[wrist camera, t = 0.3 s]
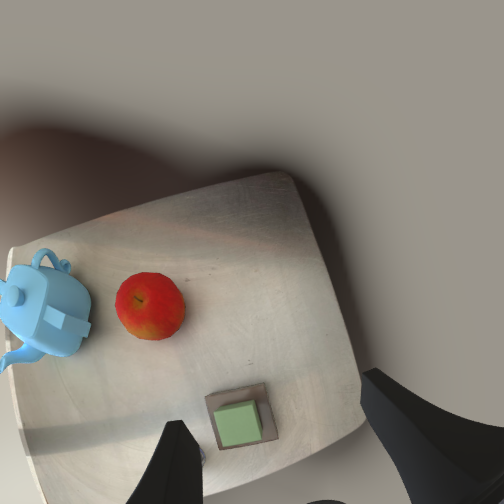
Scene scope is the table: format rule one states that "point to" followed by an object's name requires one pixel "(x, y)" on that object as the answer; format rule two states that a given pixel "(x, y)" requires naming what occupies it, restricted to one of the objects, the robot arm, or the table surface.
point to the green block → (238, 423)
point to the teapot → (44, 310)
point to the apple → (150, 306)
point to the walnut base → (238, 396)
